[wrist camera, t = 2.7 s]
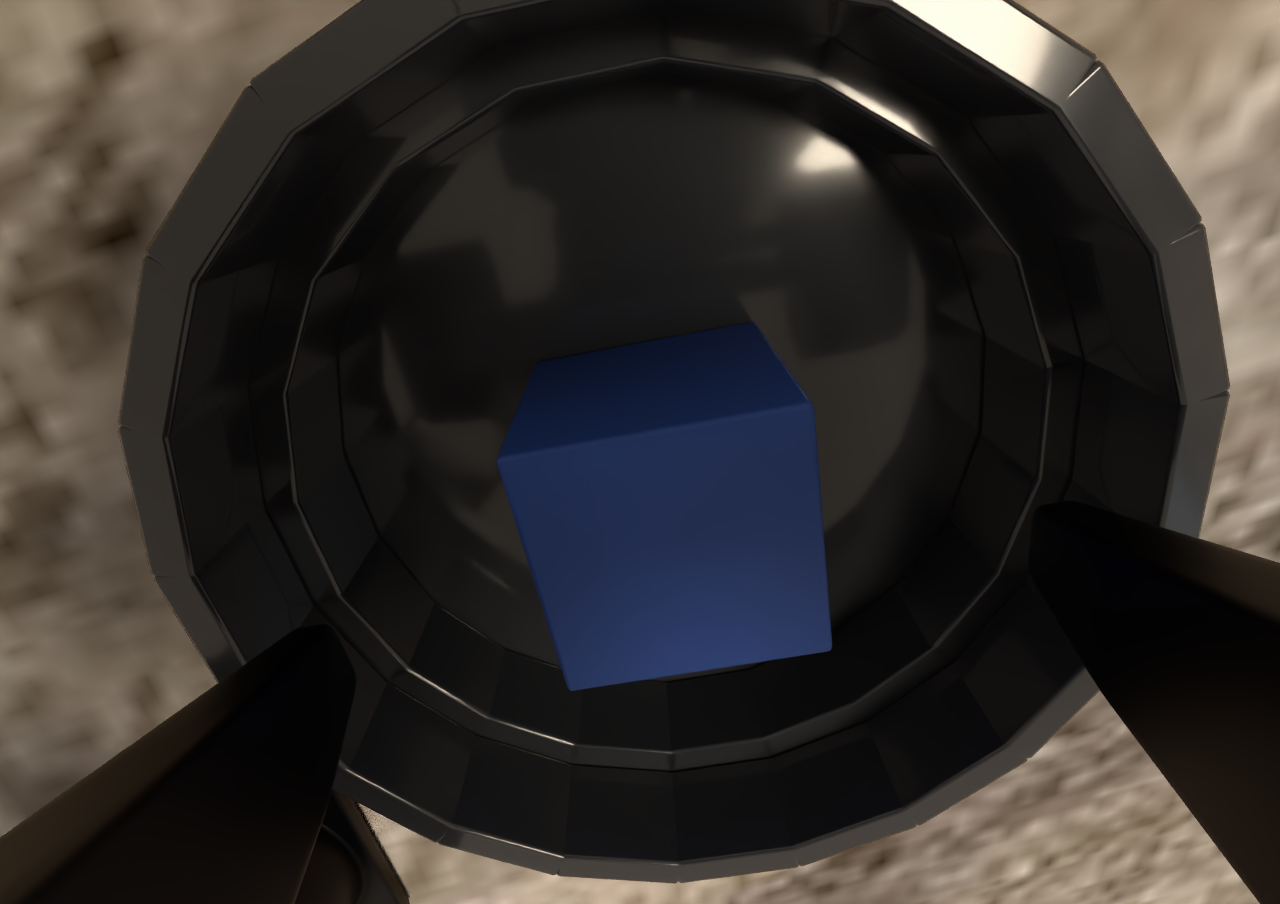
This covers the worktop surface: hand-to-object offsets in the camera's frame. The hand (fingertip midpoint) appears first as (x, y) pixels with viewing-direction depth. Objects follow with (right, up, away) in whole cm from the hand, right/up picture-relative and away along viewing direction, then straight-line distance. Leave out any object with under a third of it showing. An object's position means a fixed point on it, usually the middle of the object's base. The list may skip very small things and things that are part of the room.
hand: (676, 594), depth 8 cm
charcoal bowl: (0, +2, +5) cm, 5 cm away
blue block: (0, +2, +4) cm, 5 cm away
